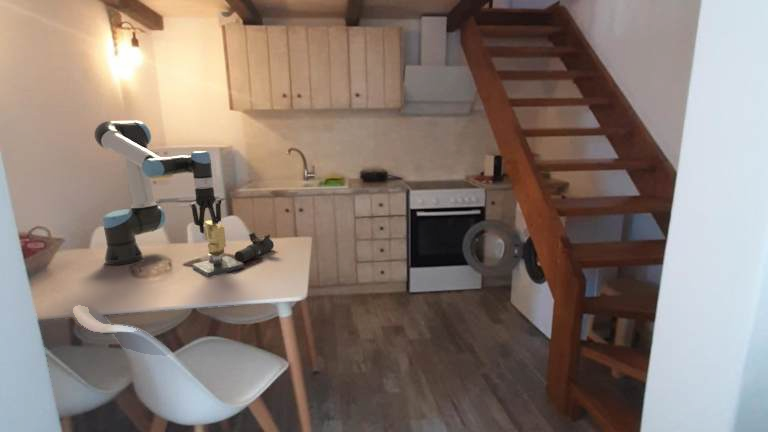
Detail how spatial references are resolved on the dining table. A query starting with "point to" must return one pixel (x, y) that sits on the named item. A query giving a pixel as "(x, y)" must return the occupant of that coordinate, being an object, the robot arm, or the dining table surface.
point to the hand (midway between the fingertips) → (209, 238)
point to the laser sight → (254, 248)
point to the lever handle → (215, 237)
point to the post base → (217, 265)
